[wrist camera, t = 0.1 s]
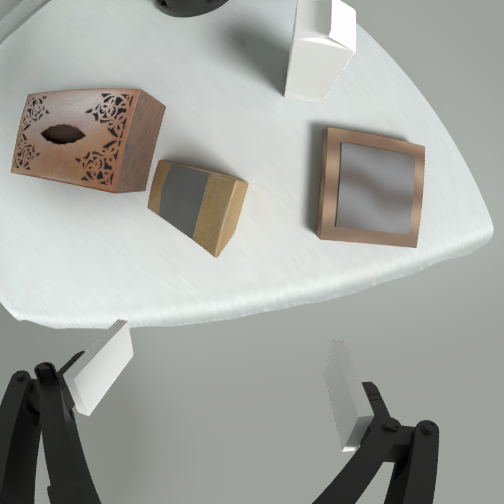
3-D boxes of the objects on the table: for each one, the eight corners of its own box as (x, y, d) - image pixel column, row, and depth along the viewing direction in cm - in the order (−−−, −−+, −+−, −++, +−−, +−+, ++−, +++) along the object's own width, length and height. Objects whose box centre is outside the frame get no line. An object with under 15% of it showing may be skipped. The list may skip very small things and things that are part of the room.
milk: (324, 71, 36) (365, -6, 15) (321, 104, 37) (367, 38, 16) (286, 65, 36) (300, -21, 15) (283, 97, 38) (296, 22, 16)
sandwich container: (158, 158, 41) (109, 148, 27) (249, 181, 41) (238, 178, 27) (146, 208, 43) (95, 221, 29) (234, 234, 43) (216, 259, 29)
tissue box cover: (166, 107, 39) (141, 89, 29) (146, 190, 43) (115, 193, 33) (60, 103, 39) (28, 94, 29) (44, 171, 43) (11, 172, 33)
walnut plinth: (322, 132, 38) (328, 126, 34) (413, 148, 38) (425, 146, 34) (315, 234, 42) (320, 239, 38) (405, 242, 42) (417, 248, 37)
